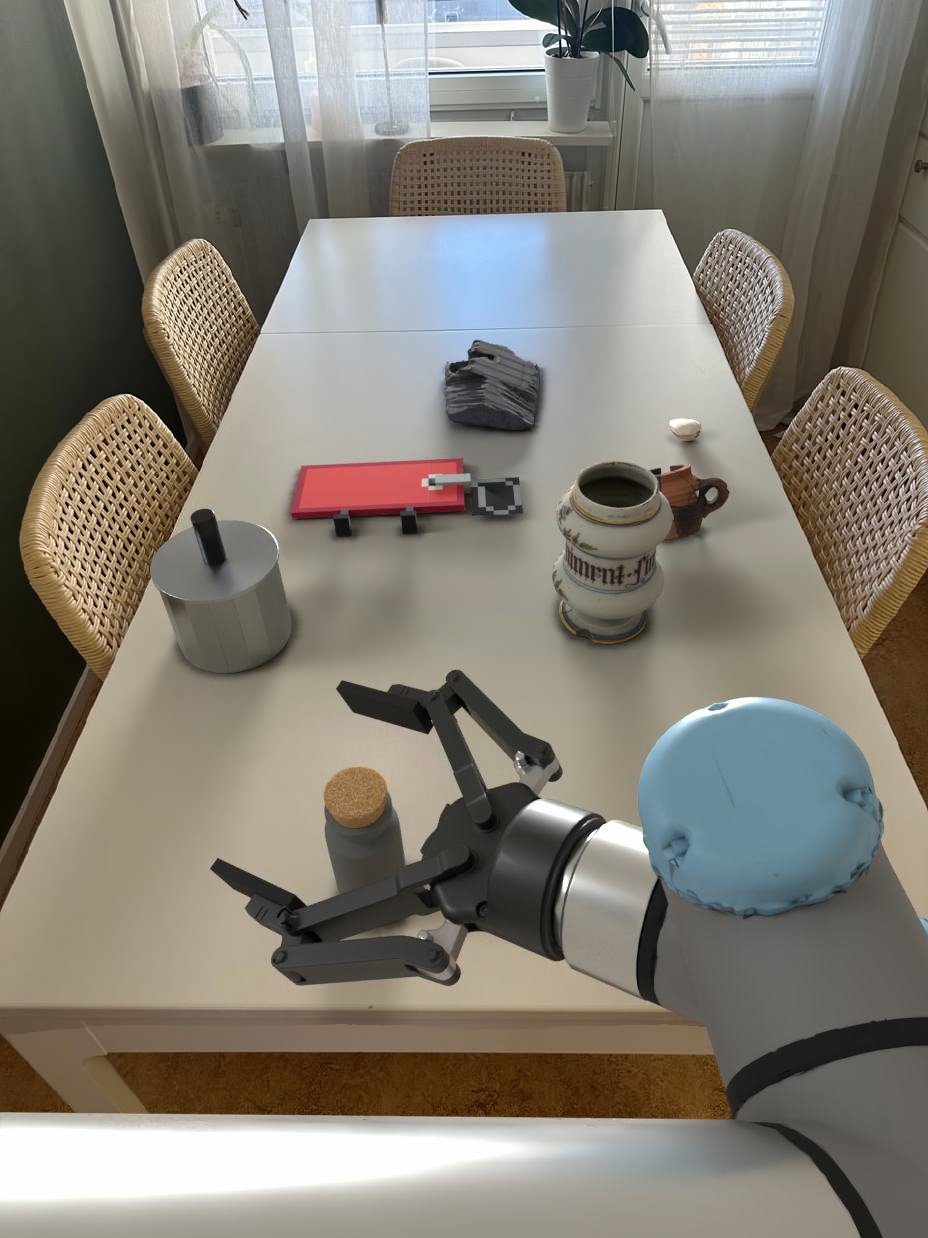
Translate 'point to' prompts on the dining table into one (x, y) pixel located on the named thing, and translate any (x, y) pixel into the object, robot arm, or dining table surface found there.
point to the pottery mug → (689, 498)
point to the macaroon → (685, 429)
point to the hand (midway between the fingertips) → (289, 779)
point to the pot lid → (214, 560)
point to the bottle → (361, 828)
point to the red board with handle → (399, 491)
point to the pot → (233, 628)
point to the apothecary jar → (610, 550)
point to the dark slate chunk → (492, 388)
